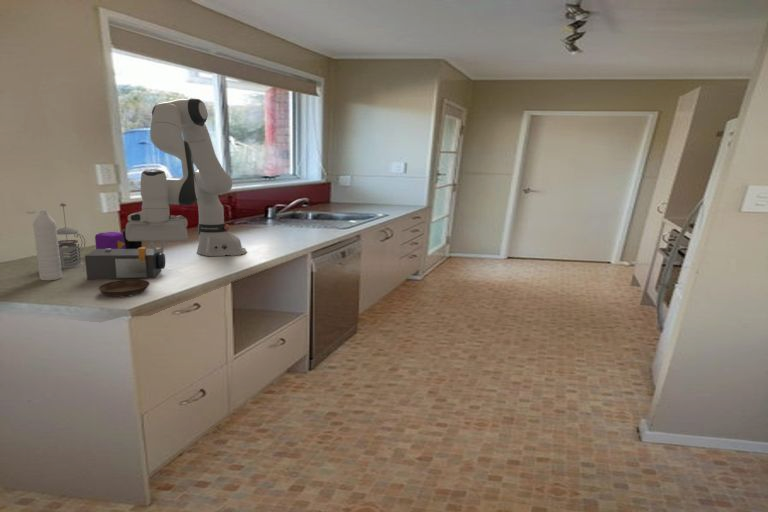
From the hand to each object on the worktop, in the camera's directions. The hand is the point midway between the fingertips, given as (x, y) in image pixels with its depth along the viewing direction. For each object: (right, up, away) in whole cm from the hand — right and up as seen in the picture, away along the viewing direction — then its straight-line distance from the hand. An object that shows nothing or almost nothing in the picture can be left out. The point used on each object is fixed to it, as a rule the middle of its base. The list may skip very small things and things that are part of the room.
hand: (158, 252), depth 162 cm
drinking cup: (-23, -4, +26) cm, 35 cm away
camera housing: (-15, -8, +6) cm, 18 cm away
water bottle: (-38, -10, -4) cm, 39 cm away
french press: (-44, -5, +17) cm, 47 cm away
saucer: (-4, -14, -14) cm, 20 cm away
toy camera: (-40, 0, +40) cm, 57 cm away
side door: (-10, -9, 0) cm, 13 cm away
